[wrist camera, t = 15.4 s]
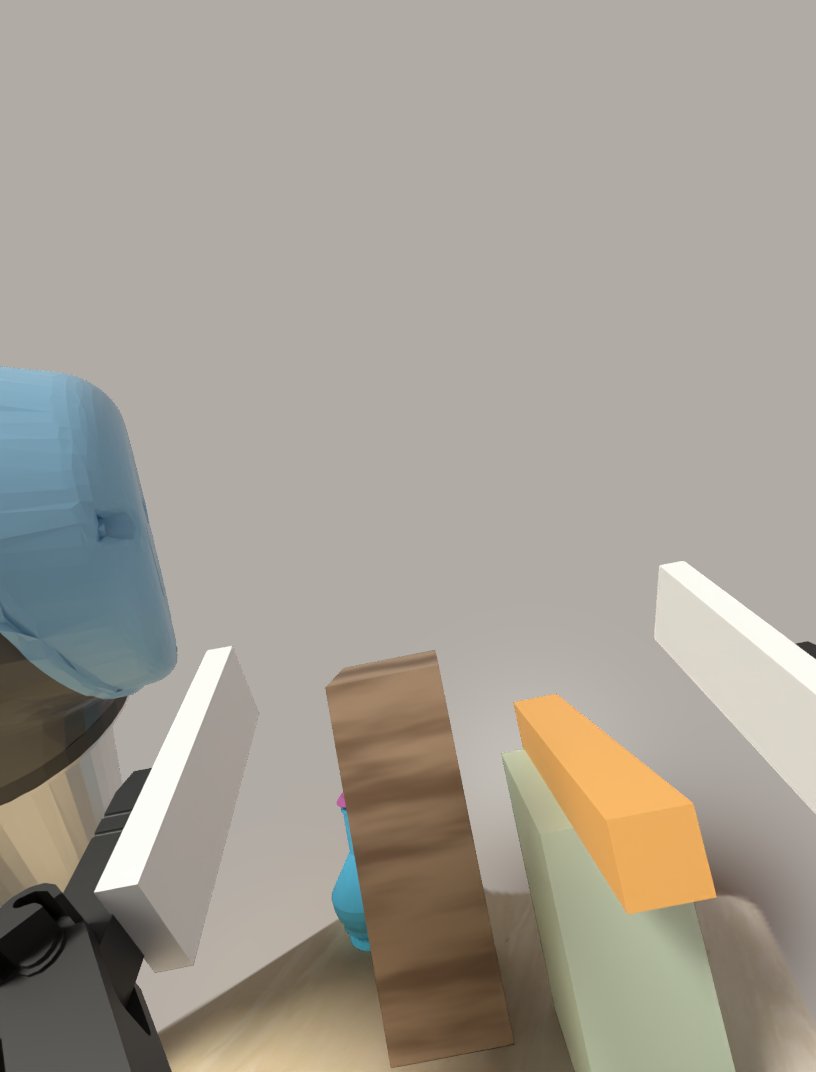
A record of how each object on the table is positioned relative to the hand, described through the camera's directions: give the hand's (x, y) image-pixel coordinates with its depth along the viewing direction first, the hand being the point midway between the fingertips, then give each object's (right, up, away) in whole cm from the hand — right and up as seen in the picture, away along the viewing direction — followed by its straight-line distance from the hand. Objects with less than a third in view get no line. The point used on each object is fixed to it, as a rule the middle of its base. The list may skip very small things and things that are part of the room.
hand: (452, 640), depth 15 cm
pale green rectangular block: (+15, -35, +19) cm, 42 cm away
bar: (+11, -14, +17) cm, 25 cm away
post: (+2, -39, +28) cm, 48 cm away
